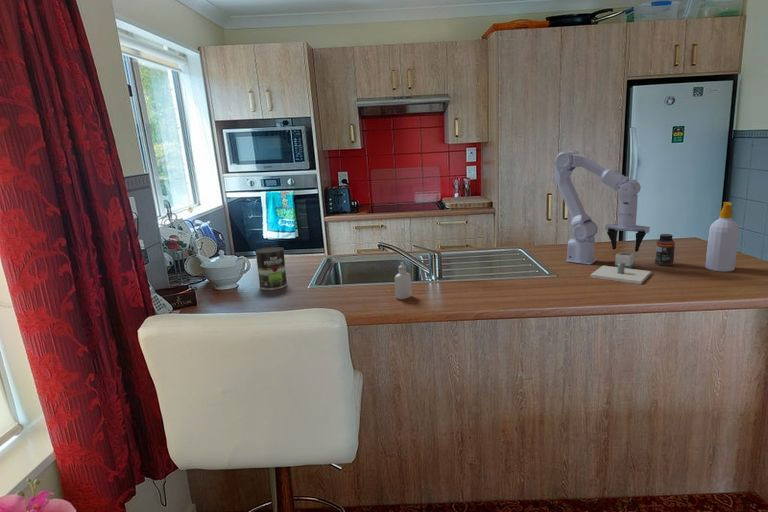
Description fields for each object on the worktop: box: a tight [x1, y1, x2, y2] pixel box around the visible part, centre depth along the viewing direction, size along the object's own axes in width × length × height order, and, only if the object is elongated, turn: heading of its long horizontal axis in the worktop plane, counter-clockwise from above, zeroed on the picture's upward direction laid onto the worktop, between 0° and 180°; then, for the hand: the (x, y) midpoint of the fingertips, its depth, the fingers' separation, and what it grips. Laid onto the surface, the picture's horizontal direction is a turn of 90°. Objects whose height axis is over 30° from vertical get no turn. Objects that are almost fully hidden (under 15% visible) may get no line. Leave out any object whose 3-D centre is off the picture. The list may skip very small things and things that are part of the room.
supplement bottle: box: [654, 233, 676, 267], centre depth 174 cm, size 6×6×11 cm
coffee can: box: [255, 246, 288, 291], centre depth 174 cm, size 10×10×14 cm
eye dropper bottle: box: [394, 261, 412, 300], centre depth 153 cm, size 4×6×12 cm
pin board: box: [590, 263, 652, 285], centre depth 164 cm, size 16×14×4 cm
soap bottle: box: [704, 201, 740, 273], centre depth 163 cm, size 9×9×24 cm
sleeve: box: [614, 251, 635, 269], centre depth 174 cm, size 5×5×5 cm
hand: (625, 250), depth 173 cm, fingers open, 7 cm apart
